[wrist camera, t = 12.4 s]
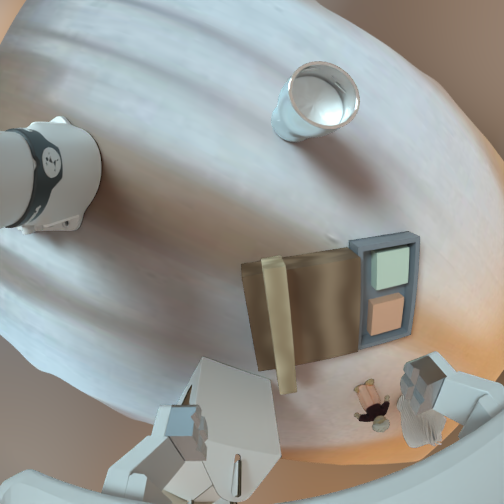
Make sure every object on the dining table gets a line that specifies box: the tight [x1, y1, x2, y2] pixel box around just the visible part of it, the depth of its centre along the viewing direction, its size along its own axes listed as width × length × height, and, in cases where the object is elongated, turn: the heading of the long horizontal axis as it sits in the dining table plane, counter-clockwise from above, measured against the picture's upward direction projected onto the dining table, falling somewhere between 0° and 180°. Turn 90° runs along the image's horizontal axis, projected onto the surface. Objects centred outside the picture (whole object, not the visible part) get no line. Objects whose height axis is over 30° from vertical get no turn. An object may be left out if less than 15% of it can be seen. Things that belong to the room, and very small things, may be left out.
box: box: [349, 231, 420, 350], centre depth 41 cm, size 11×18×4 cm, turn 8°
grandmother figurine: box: [354, 379, 390, 432], centre depth 43 cm, size 8×4×13 cm, turn 130°
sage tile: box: [371, 244, 409, 290], centre depth 39 cm, size 6×6×2 cm
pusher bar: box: [261, 256, 297, 395], centre depth 36 cm, size 2×20×4 cm, turn 8°
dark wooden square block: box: [241, 247, 361, 371], centre depth 40 cm, size 16×16×5 cm
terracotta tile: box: [367, 292, 404, 336], centre depth 42 cm, size 6×6×2 cm
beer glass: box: [271, 61, 360, 142], centre depth 27 cm, size 7×7×15 cm
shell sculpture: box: [397, 395, 446, 448], centre depth 43 cm, size 8×8×18 cm
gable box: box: [161, 357, 282, 504], centre depth 35 cm, size 22×13×28 cm, turn 153°
